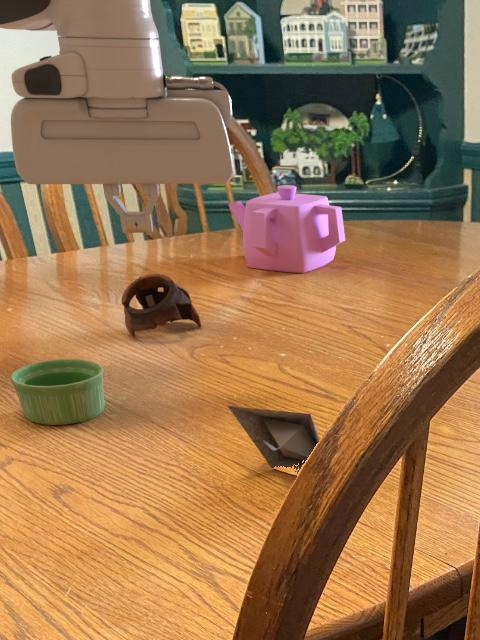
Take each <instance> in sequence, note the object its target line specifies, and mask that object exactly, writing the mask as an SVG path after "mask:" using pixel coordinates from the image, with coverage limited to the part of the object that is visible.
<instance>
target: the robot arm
mask: <svg viewBox="0 0 480 640" xmlns="http://www.w3.org/2000/svg"><path fill="white" fill-rule="evenodd" d="M0 29H5V30H17V31H21V30H22V31H23V30H25V31H31V32H32V31H36V32H37V31H38V32H40V31H41V32H44V31H45V32H46V31H47V32H48V31H49V32H50V31H51V32H52V31H53V32H55V31H56V36H57V42H58V47H59V50H58V52H59V54H56V55H54V56H52V55H47V56H43V57H41V58H39V60H38V61H36V62H33V63H28V64H26V65H23V66H20V67H19V68H16V69H15V70H14V71H13V72H12V73H11V84H12V87H13V90H14V92H15V94H17V95H18V96H19V97H21V99H19V100H18V101H16V103H14V105H13V107H12V110H11V114H10V133H11V146H12V153H13V159H14V165H15V169H16V173H17V174H18V176H19V177H20V178H21V179H22V180H23V181H24V182H25V183H26V184H28V185H102V187H103V193H104V194H103V195H104V198H105V199H106V200H107V201H108V203H109V204H110V206H111V207H112V208H113V210H114V211H115V213H116V214H117V215H118V216H119V219H120V220H119V221H120V227H121V231H122V234H150V233H151V234H152V233H154V223H153V216H152V213H153V211H154V208H155V205H156V203H157V201H158V199H159V196H160V186H159V185H219V184H220V185H227V184H228V183H229V182H230V181H231V179H233V177H234V175H235V170H234V169H235V167H234V161H233V154H232V149H231V144H230V138H229V134H228V130H227V129H229V127H230V125H231V122H232V119H233V109H232V99H231V96H230V93H229V91H228V89H227V88H226V87H225V86H224V85H223V84H222V83H220V82H217V81H215V80H213V77H211V76H205V75H202V76H200V75H199V76H197V77H196V76H194V77H193V76H185V75H166V74H164V69H163V61H162V52H161V45H160V44H161V43H160V39H159V38H160V36H159V31H158V28H157V25H156V24H155V21H154V17H153V14H152V7H151V0H0ZM214 87H215V88H218V89H214ZM121 185H141V186H142V193H143V196H145V197H149V198H148V200H147V203H146V206H145V208H144V210H143V211H128V210H127V207H125V205H124V204H123V202H122V200H121V199H120V198H119V196H120V195H121V193H122V188H121Z"/></svg>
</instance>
